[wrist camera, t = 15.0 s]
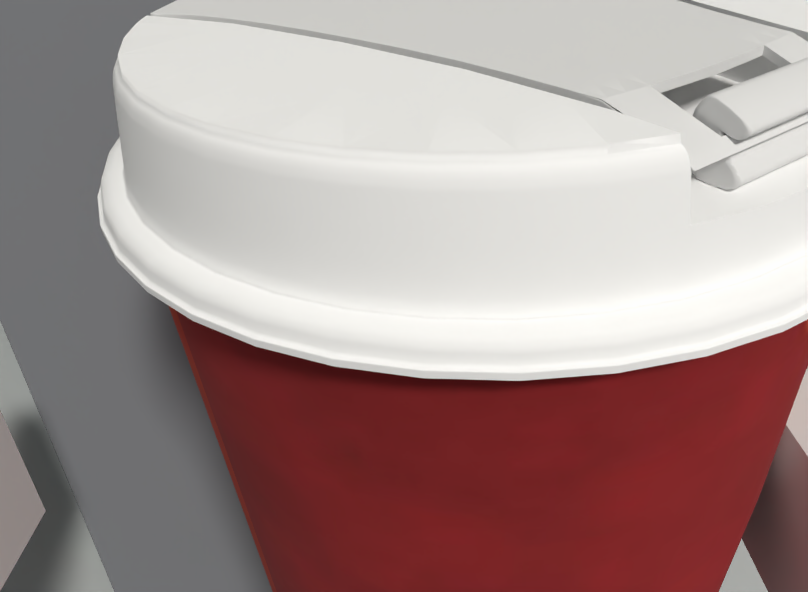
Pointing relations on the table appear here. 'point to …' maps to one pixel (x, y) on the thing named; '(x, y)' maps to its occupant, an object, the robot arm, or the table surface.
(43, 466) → the table surface
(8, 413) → the table surface
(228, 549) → the mat
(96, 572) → the table surface
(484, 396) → the coffee cup
